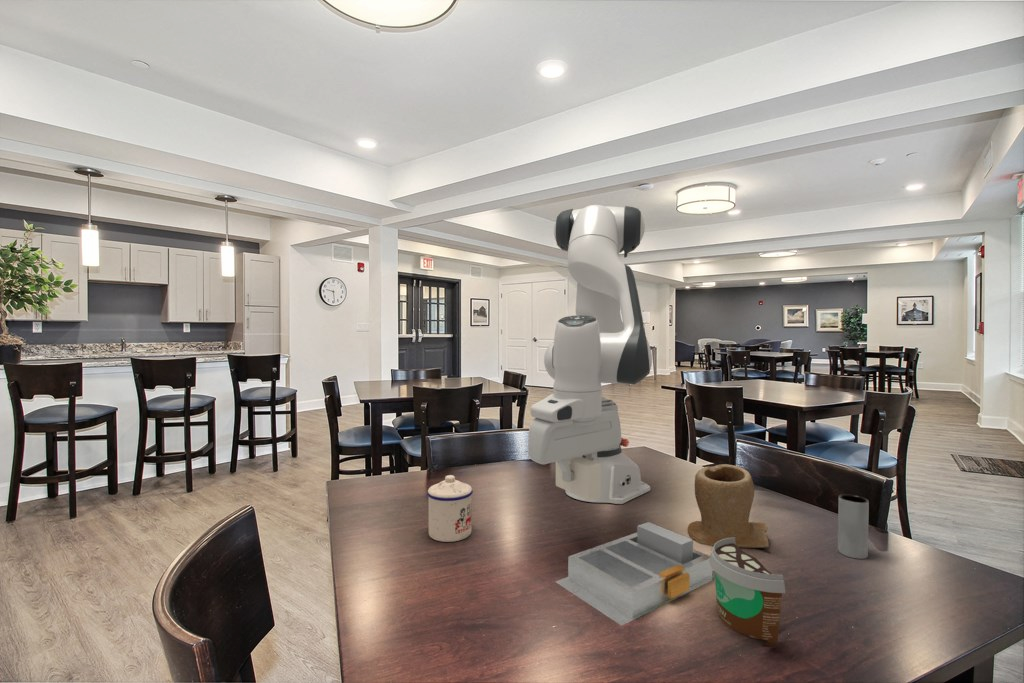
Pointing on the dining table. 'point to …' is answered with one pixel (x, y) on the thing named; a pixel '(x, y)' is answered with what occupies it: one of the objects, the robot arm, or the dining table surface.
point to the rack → (632, 578)
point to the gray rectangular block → (665, 542)
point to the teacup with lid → (449, 510)
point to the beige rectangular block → (582, 478)
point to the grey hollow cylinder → (853, 526)
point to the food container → (746, 592)
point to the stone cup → (726, 508)
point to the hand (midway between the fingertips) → (577, 478)
